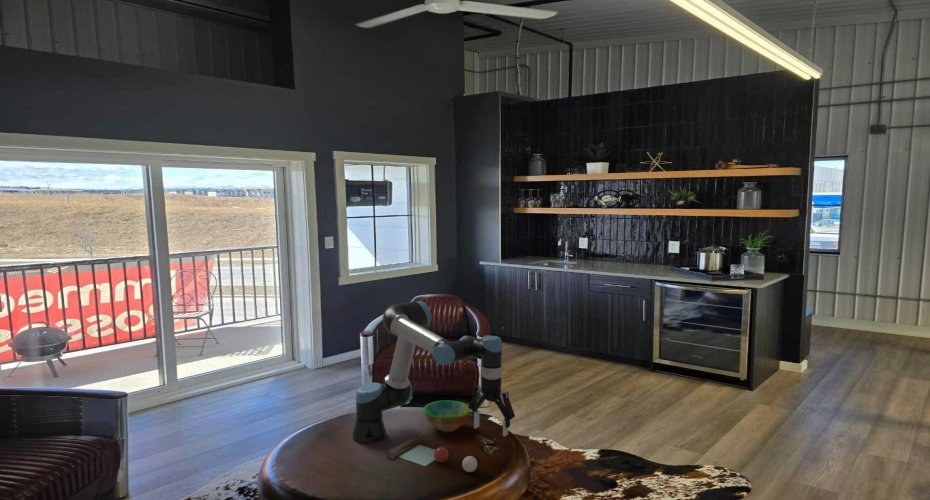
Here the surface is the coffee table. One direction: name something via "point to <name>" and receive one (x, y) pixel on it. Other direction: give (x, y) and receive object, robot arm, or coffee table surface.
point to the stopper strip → (404, 447)
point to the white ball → (469, 464)
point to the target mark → (419, 455)
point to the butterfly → (487, 447)
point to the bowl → (447, 414)
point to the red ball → (441, 454)
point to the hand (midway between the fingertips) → (490, 431)
